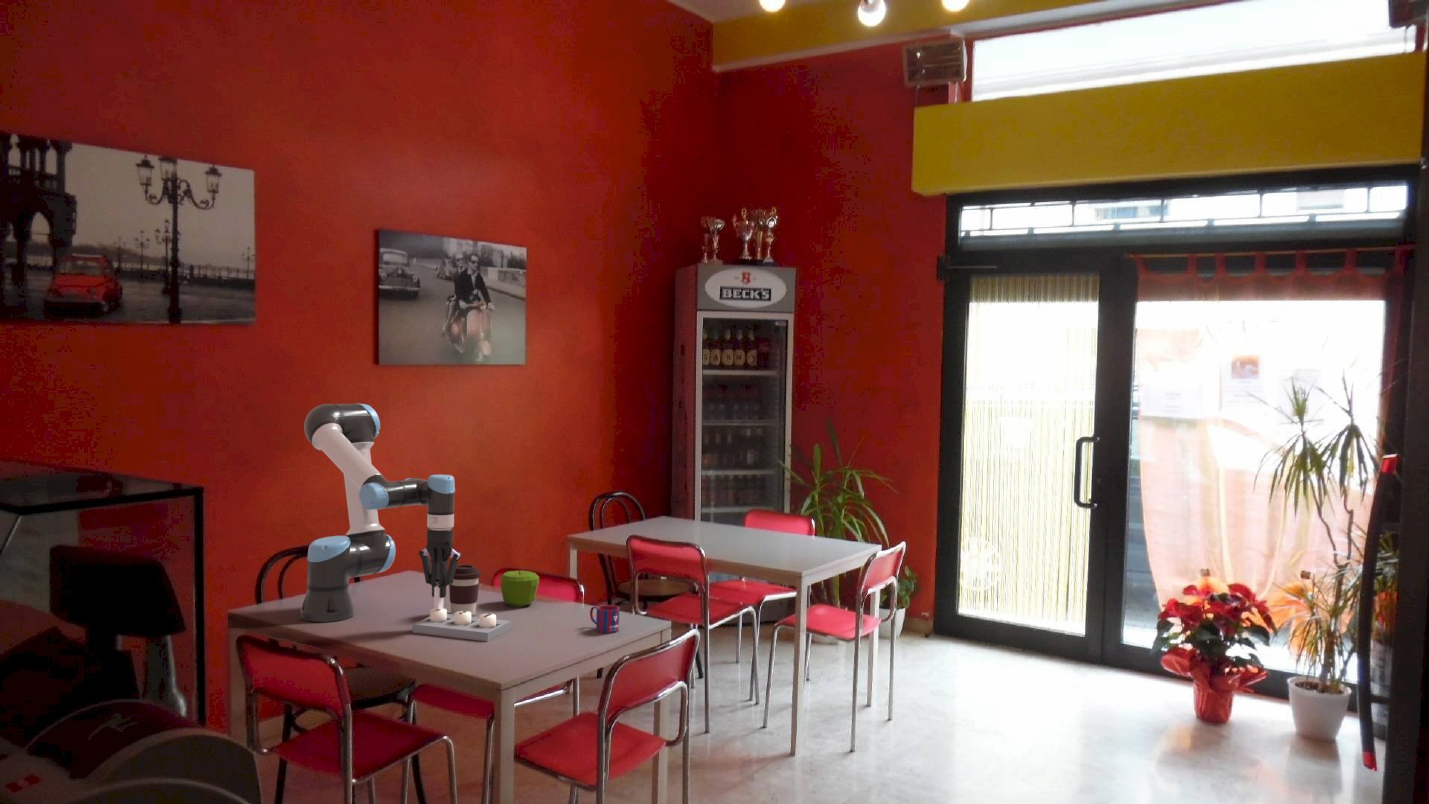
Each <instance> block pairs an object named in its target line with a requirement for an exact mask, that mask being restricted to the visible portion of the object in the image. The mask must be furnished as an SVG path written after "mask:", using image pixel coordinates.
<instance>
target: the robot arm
mask: <svg viewBox="0 0 1429 804" xmlns="http://www.w3.org/2000/svg"><path fill="white" fill-rule="evenodd" d="M303 425H304V427H303V428H304V434H305V437H306V439H307V440H308V442H309V443H310V444H311V446H313V448H315V449H316V450H318V451H322V452H323V453H324V454H325V455H326V456H327V457H328V459H330V460H331V462H333V464H334V465H335V466H336V467H337V469H339V470H340V471H341V472H342V474H343V478H344V487H345V494H346V504H347V510H348V520H349V521H348V522H349V529H348V531H347V532H346V533H345V535H334V536H325V537H321V538H317V539H315V540H313V541H312V542H311V543H310V544H309V546H308V551H307V557H306V559H307V585H306V586H307V591H306V594H305V597H304V599H303V602H302V604H301V605H302V606H301V608H300V619H301V620H303V621H306V622H312V623H313V622H315V623H316V622H318V623H322V622H323V623H328V622H337V621H342V620H343V621H344V620H347V619H349V618H352V617H354V616H355V606H354V602H353V599H352V595H351V593H350V589H349V588H350V587H349V585H350V584H349V583H350V579H351V578H357V577H364V576H369V575H376V574H379V573H383V572H385V571H387V570H388V569H390V567H392V565H393V563H394V561H395V557H396V544H395V541H394V540H393V537H391V536H390V535H388V534H387V533H386V530H385V527H383V526H382V525H381V524H380V521H379V513H378V510H383V509H392V508H399V507H401V508H402V507H408V506H409V507H410V506H426V507H427V512H426V513H427V514H426V515H427V522H426V523H427V524H426V525H427V526H426V527H427V528H428V529H427V530H426V542H427V543H426V545H425V548H423V549H421V550H419V551H418V555H419V557H420V559H421V565H422V569H423V575H424V579H425V583H426V584H429V585H431V596H432V598H433V609H437V610H439V609H441V608H444V601H445V600H444V599H445V598H446V596H447V586H449V585H450V584H452V583H453V579H454V575H455V571H456V567H457V565H458V561H459V560H460V558H461V557H462V553H461V552H457V551H456V550H455V547H454V543H453V542H454V534H455V533H454V532H455V531H454V530H455V529H454V527H455V496H456V495H455V494H456V488H455V486H456V484H455V477H454V476H453V475H450V474H432V475H429V476H428V479H424V478H423V479H421V478H419V477H412V478H411V477H408V478H405V479H404V480H394V481H393V480H392V481H389V480H387V478H385V477H384V475H382V473H381V472H380V471H379V470H378V469H377V468H376V467H375V466H374V465H373V464H372V456H371V448H372V447H373V446H374V444H375V439H376V438H377V437H378V436H379V434H380V432H379V431H380V429H381V421H380V418H379V415H378V414H377V412H376V410H375V409H374V408H372V406H371V405H368V404H365V403H357V402H355V403H324V404H320V405H318V406H315V407H314V408H312V409H311V410H310V411H309V413H307V415H306V418H305V420H304V424H303ZM449 558H450V560H449Z"/></svg>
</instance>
